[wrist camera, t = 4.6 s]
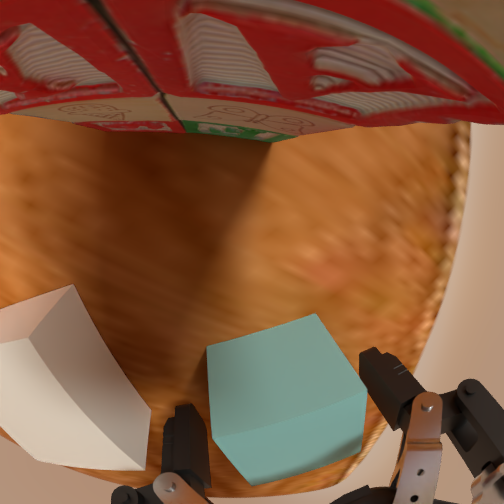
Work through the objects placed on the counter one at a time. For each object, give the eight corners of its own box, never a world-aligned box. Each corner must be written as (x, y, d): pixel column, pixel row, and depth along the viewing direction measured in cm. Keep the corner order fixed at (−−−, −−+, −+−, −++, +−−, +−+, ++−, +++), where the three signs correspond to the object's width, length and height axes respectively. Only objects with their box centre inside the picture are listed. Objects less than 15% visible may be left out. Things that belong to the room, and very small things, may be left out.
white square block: (-18, 315, 9) (-54, 354, 5) (73, 283, 10) (28, 337, 6) (53, 416, 12) (36, 460, 8) (151, 410, 12) (145, 470, 9)
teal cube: (206, 345, 12) (212, 438, 7) (314, 312, 12) (367, 389, 7) (237, 409, 13) (251, 486, 9) (324, 382, 14) (360, 451, 9)
